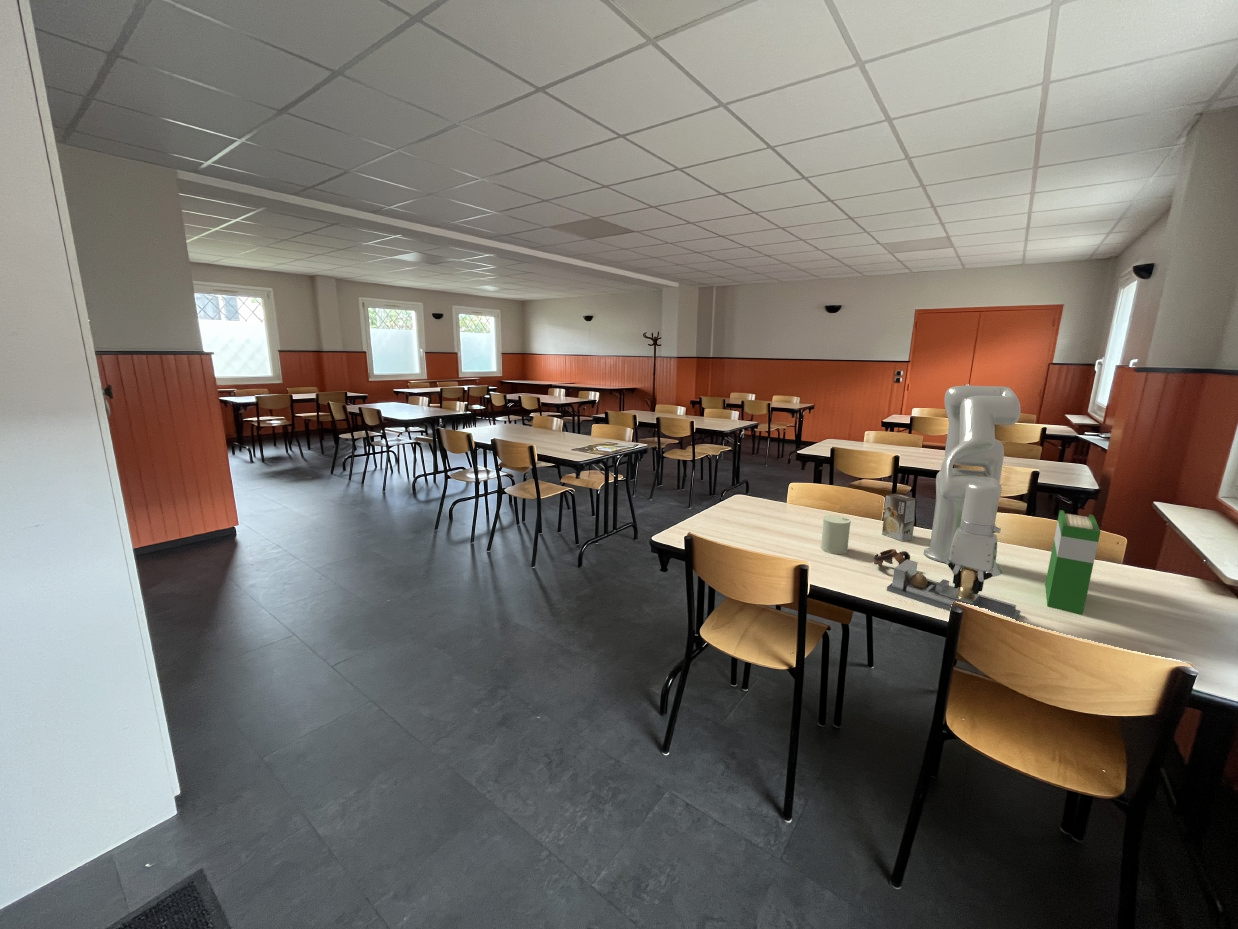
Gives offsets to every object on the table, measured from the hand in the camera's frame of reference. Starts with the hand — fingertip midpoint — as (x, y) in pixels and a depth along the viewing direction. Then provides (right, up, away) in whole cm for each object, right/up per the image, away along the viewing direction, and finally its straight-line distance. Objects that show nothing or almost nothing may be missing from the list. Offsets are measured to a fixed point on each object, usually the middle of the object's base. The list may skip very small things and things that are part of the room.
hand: (966, 589), depth 141 cm
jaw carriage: (-1, -3, +2) cm, 4 cm away
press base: (-2, -5, +4) cm, 6 cm away
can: (-19, +4, +43) cm, 47 cm away
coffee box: (+11, +7, +56) cm, 57 cm away
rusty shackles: (-7, 0, +25) cm, 26 cm away
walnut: (-8, 0, +9) cm, 12 cm away
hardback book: (+32, -4, +6) cm, 33 cm away
